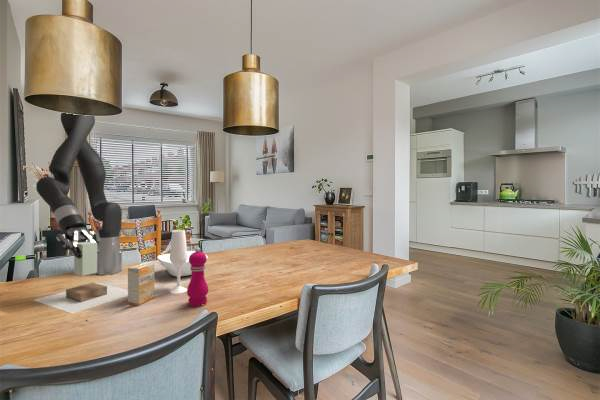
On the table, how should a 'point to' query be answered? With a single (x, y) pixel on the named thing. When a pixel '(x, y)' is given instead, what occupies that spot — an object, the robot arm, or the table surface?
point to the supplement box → (140, 283)
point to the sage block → (86, 259)
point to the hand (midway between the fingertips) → (88, 255)
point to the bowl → (173, 269)
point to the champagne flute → (178, 256)
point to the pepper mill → (197, 279)
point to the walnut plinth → (86, 292)
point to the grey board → (75, 306)
